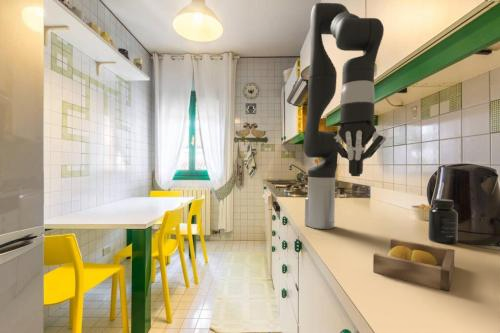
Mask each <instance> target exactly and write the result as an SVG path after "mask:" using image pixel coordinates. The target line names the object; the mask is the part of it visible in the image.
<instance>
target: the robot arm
mask: <svg viewBox="0 0 500 333" xmlns="http://www.w3.org/2000/svg"><path fill="white" fill-rule="evenodd" d="M309 22H310V23H309V24H310V28H309V29H310V35H309V38H310V58H309V59H310V60H309V69H308V70H309V72H308V84H307V85H308V86H307V88H308V89H307V109H306V110H307V111H306V112H307V113H306V121H305V127H304V129H305V130H304V136H303V152H304V155H305V156H306V157H308V158H318V159H319V158H320V159H321V161H320V162H319V163H318V164H317V165H315V166H313V167H311V168H308V171H307V197H306V198H305V199H304V226H307V227H310V228H313V229H317V230H318V229H320V230H328V229H329V230H331V229H333V228H335V208H336V206H335V205H336V204H335V203H336V202H335V201H336V200H335V198H336V197H335V195H336V172H337V169H338V157H339V155H340V157H341V158H343V159H347V160H348V174H350V176H351V177H360V176H361V175H362V174H363V171H364V161H365V160H366V159H370V158H371V157H373V155H374V154H376V152H377V151H378V150H379V149H380V147H381V146H382V145H383V143H384V142H385V141H386V137H385V136H383V135H381V134H380V133H378V132H377V128H376V127H375V102H376V101H375V99H376V98H375V97H376V96H375V94H376V91H375V85H374V84H375V79H374V78H375V67H376V66H375V65H376V60H377V56H378V52H379V48H380V45H381V44H382V40H383V37H384V34H385V33H384V31H385V30H384V28H385V27H384V25H383V22H382V21H381V20H380V19H379V18H376V17H360V16H358V15H356V14H354V13H351V12H350V11H349V10H348V8H347V7H346V6H345V5H343V4H342V3H337V2H335V3H334V2H317V3H315V4H314V5H313V7H312V9H311V13H310V21H309ZM322 35H329V36H330V35H332V36H333V38H334V39H335V45H336V47H337V49H338V50H340V51H344V52H345V51H347V52H349V51H351V52H362V55H360V56H356V57H352V58H350V59H347V60H345V62H344V63H343V65H342V77H341V79H342V80H341V85H342V87H341V93H340V100H339V102H340V113H339V114H340V117H339V119H340V120H339V123H340V124H339V129H338V132H337V133H338V134H336V133H335V132H334V131H322V130H321V131H320V124H321V118H322V116H323V114H324V112H325V111H326V110H327V108H328V106H329V104H330V103H331V102H332V100H333V99H334V97H335V94H336V90H337V76H338V75H337V74H338V73H337V70H336V66H335V64H334V63H333V61H332V59H331V58H330V56H329V55H328V52H327V50H326V48H325V46H324V43H323V36H322ZM371 141H372V143H371V144H370V145H369V146H368V148H367V149H366V146H367V145H368V144H369V142H371ZM342 142H344V144H345V145H346V149H345V147H344V146H343V144H342Z"/></svg>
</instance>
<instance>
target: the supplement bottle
mask: <svg viewBox="0 0 500 333" xmlns="http://www.w3.org/2000/svg"><path fill="white" fill-rule="evenodd" d="M454 203H455V202H454V200H453V199H448V198H433V199H432V206H433V207H432V208H430V209H429V210H428V227H427V228H428V230H427V231H428V235H427V237H428V239H429V240H430V241H431V242H433V243H437V244H443V245H454V244H457V243H458V229H459V228H458V226H459V224H458V222H459V220H458V219H459V218H458V217H459V213H458V212H457V210H455V209H454V208H455V205H454Z"/></svg>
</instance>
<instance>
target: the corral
mask: <svg viewBox="0 0 500 333" xmlns="http://www.w3.org/2000/svg"><path fill="white" fill-rule="evenodd" d="M389 246H390V247H389V248H390V249H389V251H390V250H391V249H392V248H394V247H396V246H404V247H407V248H409V249H410V250H412V251H413V250H420V251H425V252H428V253H430V254H431V255H432V256H433V257H434V258H435V259H436V262H437V266H433V265H428V264H424V263H419V262H414V261H410V260H405V259H401V258H396V257H391V256H388V254H387V255H386V254H381V253H377V252H375V253H373V258H372V259H373V260H372V263H373V264H372V266H373V267H372V268H373V269H372V272H373V273H376V274H379V275H380V274H381V275H384V276H388V277H392V278H395V279H399V280H402V281H403V280H404V281H406V282H407V281H408V282H410V283H415V284H419V285H422V286H425V287H430V288H435V289H438V290H443V291H446V292H449V291H450V290H451V288H450V287H451V284H452V282H451V281H452V278H453V273H454V268H455V249H452V248H445V247H442V246H441V247H440V246H434V245H428V244H424V243H423V244H422V243H417V242H412V241H405V240H400V239H395V238H391V239H390V245H389Z"/></svg>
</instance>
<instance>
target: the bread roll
mask: <svg viewBox="0 0 500 333" xmlns="http://www.w3.org/2000/svg"><path fill="white" fill-rule="evenodd" d="M387 256H391V257H396V258H401V259H405V260H410V261H414V262H419V263H424V264H428V265H433V266H438V264H437V262H436V259H435V258H434V257H433V256H432V255H431V254H430V253H428V252H425V251H420V250H413V251H412V250H410V249H409V248H407V247H404V246H396V247H394V248H392V249H391V250H390V249H389V251H388V253H387Z"/></svg>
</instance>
